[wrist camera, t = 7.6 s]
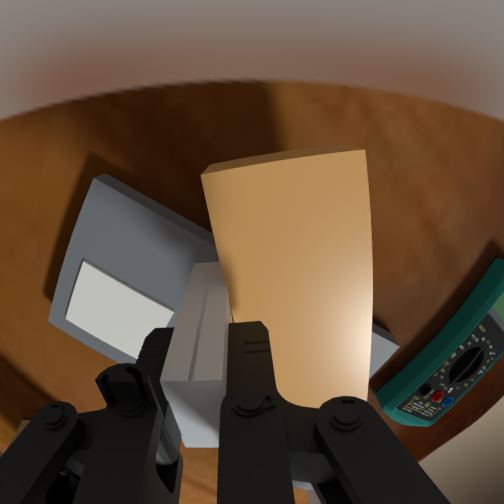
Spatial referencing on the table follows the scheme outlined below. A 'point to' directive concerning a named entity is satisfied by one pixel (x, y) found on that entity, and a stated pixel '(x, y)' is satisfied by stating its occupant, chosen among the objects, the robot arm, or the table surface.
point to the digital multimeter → (451, 357)
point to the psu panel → (137, 273)
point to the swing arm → (300, 263)
